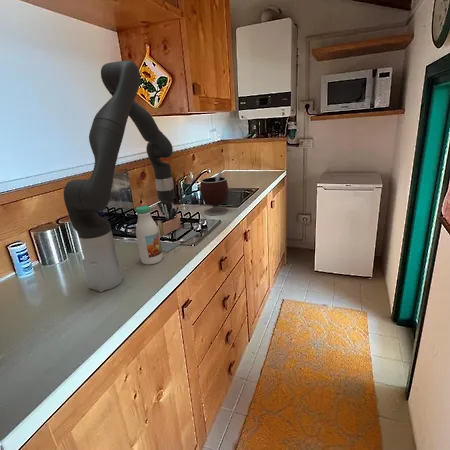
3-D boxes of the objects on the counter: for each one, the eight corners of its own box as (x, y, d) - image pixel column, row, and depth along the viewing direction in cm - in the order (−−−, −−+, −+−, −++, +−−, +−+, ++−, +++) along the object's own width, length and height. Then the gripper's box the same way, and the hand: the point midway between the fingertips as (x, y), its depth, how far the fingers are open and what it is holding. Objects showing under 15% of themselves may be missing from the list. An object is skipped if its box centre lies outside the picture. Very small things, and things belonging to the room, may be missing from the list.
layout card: (167, 252, 114) (167, 251, 113) (137, 246, 122) (137, 245, 122) (201, 232, 131) (201, 231, 131) (173, 227, 139) (173, 226, 139)
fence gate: (164, 235, 129) (162, 221, 127) (162, 234, 130) (160, 220, 128) (181, 227, 136) (179, 214, 134) (179, 226, 137) (177, 213, 135)
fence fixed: (143, 247, 120) (140, 230, 117) (140, 246, 120) (137, 230, 118) (164, 236, 129) (161, 220, 127) (161, 235, 130) (159, 220, 127)
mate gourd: (221, 217, 147) (217, 177, 140) (197, 215, 154) (193, 176, 147) (235, 208, 160) (233, 170, 153) (213, 206, 166) (210, 170, 159)
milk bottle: (141, 266, 104) (130, 212, 97) (141, 257, 111) (131, 205, 104) (163, 262, 106) (154, 208, 99) (162, 253, 113) (153, 202, 106)
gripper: (149, 187, 132) (155, 224, 138) (166, 192, 123) (172, 231, 129) (163, 184, 137) (169, 219, 143) (181, 188, 128) (185, 225, 134)
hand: (170, 225), depth 136 cm, fingers closed
